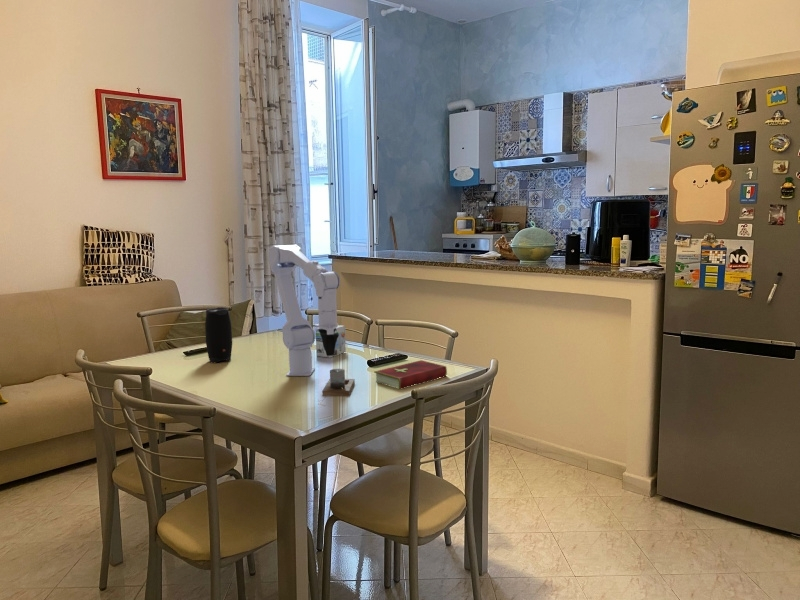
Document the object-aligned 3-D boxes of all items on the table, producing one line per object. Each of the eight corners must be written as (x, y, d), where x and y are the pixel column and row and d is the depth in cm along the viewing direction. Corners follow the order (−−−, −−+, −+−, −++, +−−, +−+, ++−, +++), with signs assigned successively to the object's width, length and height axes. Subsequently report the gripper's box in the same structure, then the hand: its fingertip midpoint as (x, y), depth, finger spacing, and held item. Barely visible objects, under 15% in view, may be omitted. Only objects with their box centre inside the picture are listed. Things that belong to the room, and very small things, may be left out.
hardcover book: (446, 377, 199) (446, 365, 199) (399, 391, 185) (399, 377, 185) (421, 371, 208) (421, 359, 208) (374, 383, 194) (374, 370, 194)
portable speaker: (232, 362, 222) (230, 309, 219) (206, 364, 220) (202, 311, 217) (233, 357, 231) (230, 306, 228) (207, 358, 228) (204, 307, 225)
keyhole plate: (329, 383, 193) (329, 378, 193) (354, 383, 192) (354, 378, 192) (322, 395, 180) (322, 390, 180) (349, 395, 180) (349, 390, 179)
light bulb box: (329, 358, 227) (328, 330, 225) (315, 356, 230) (314, 328, 229) (346, 352, 236) (345, 325, 234) (332, 350, 239) (332, 323, 238)
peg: (336, 389, 186) (335, 368, 185) (348, 391, 184) (347, 369, 183) (327, 393, 182) (326, 371, 181) (339, 395, 180) (338, 373, 179)
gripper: (313, 307, 196) (314, 348, 198) (316, 314, 182) (318, 358, 184) (334, 306, 198) (336, 347, 200) (339, 313, 184) (341, 357, 186)
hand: (328, 352), depth 192 cm, fingers open, 7 cm apart
